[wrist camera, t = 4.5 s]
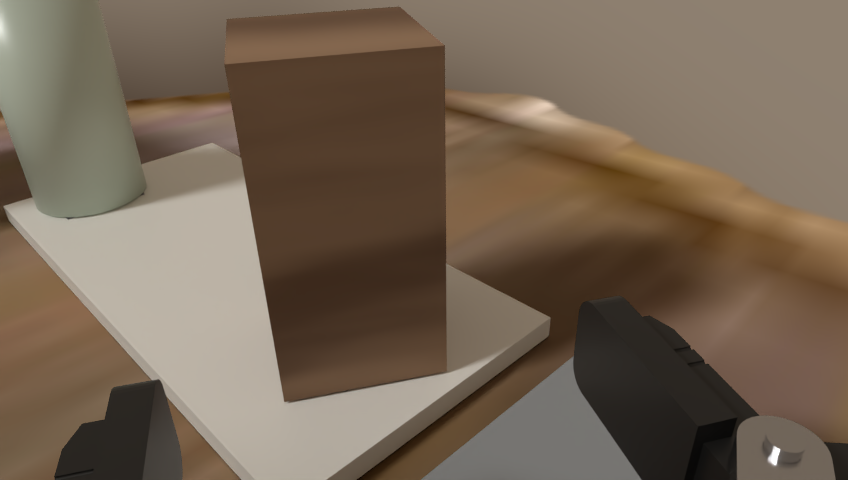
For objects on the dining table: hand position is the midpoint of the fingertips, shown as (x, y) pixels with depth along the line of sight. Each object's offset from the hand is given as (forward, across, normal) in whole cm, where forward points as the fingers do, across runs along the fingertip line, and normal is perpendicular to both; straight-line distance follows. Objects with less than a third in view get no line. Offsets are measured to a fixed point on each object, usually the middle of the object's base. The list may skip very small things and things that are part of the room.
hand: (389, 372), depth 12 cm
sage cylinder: (+23, -10, -5) cm, 26 cm away
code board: (+15, -4, -6) cm, 17 cm away
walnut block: (+8, 0, -5) cm, 10 cm away
